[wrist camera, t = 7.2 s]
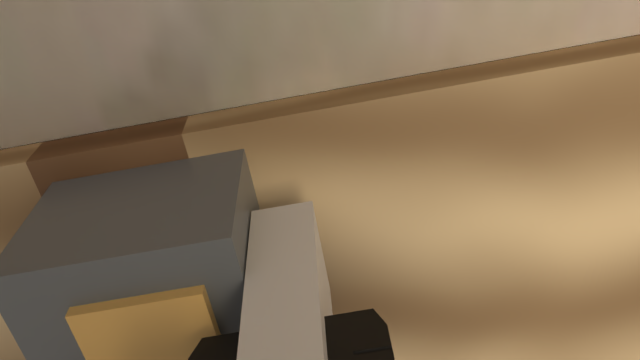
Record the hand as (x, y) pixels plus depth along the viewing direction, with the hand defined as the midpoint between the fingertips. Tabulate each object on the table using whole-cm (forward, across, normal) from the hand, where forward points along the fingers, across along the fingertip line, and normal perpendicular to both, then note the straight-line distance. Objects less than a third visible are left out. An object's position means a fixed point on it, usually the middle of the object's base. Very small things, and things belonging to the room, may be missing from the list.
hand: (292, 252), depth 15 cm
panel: (+3, +2, -4) cm, 5 cm away
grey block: (+1, -3, 0) cm, 4 cm away
